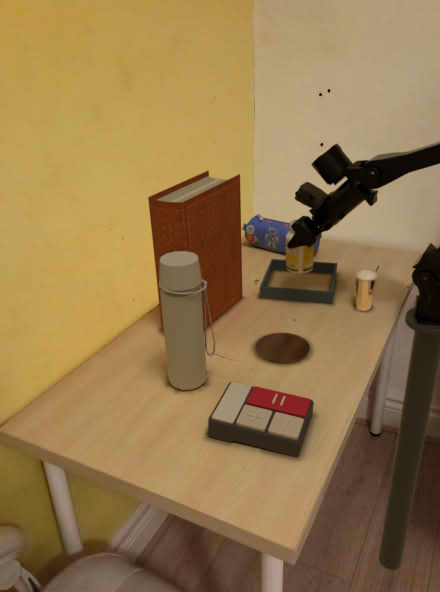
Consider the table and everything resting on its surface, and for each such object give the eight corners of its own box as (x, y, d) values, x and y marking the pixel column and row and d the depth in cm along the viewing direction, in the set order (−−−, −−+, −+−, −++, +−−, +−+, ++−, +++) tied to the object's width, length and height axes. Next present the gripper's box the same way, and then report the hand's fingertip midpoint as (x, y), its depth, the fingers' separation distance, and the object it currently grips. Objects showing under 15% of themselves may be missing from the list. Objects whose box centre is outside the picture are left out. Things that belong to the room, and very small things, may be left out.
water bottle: (172, 396, 98) (159, 270, 86) (165, 372, 104) (153, 252, 92) (221, 388, 99) (216, 263, 87) (211, 364, 106) (205, 245, 94)
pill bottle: (316, 265, 129) (317, 219, 124) (308, 276, 124) (310, 228, 119) (290, 262, 132) (290, 216, 126) (281, 272, 127) (282, 225, 121)
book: (213, 290, 134) (207, 170, 120) (242, 297, 131) (240, 174, 116) (159, 333, 117) (144, 198, 103) (190, 342, 114) (179, 204, 99)
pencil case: (241, 247, 159) (240, 216, 155) (257, 238, 165) (257, 208, 160) (307, 263, 147) (308, 230, 143) (322, 253, 153) (324, 221, 148)
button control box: (300, 439, 81) (207, 416, 85) (297, 460, 83) (207, 436, 88) (314, 396, 90) (230, 377, 94) (312, 416, 92) (229, 396, 97)
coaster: (312, 337, 114) (312, 335, 113) (306, 366, 104) (306, 364, 104) (260, 332, 116) (260, 330, 116) (250, 360, 107) (250, 358, 107)
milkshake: (380, 309, 123) (385, 269, 118) (360, 313, 122) (364, 273, 117) (368, 300, 127) (372, 261, 122) (349, 305, 125) (352, 265, 121)
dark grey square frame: (336, 273, 141) (337, 262, 139) (332, 303, 126) (333, 292, 125) (271, 269, 145) (271, 258, 143) (259, 298, 130) (259, 286, 129)
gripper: (334, 162, 122) (288, 204, 133) (301, 183, 108) (253, 228, 119) (365, 200, 122) (317, 239, 133) (336, 225, 108) (285, 267, 119)
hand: (294, 242), depth 126 cm, fingers closed on pill bottle, 6 cm apart
